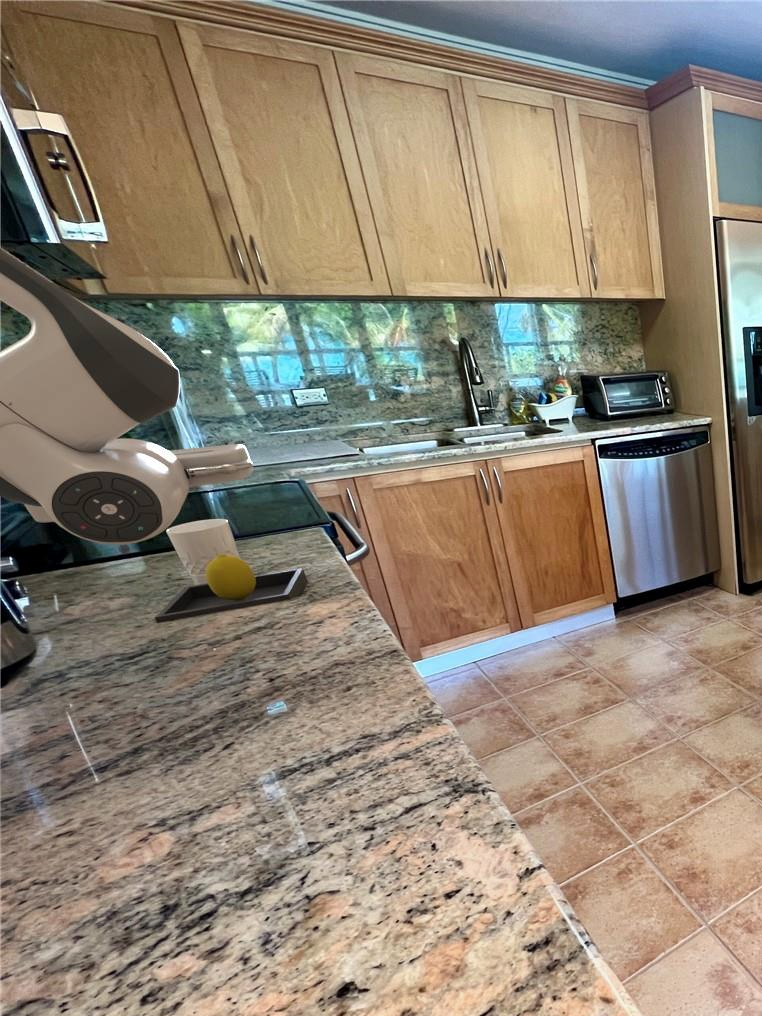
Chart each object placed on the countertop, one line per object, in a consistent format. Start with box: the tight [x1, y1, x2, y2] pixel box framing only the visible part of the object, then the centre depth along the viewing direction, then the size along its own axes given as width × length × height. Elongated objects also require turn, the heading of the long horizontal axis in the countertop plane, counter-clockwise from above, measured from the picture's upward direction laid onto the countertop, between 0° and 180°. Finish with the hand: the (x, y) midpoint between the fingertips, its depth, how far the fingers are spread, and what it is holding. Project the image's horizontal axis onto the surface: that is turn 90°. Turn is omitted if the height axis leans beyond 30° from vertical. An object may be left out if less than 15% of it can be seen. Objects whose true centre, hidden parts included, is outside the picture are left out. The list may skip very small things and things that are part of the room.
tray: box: [154, 567, 308, 624], centre depth 100 cm, size 16×14×2 cm
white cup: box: [165, 518, 241, 585], centre depth 109 cm, size 8×8×10 cm
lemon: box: [206, 554, 256, 602], centre depth 99 cm, size 6×6×8 cm
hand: (149, 462), depth 81 cm, fingers open, 8 cm apart
